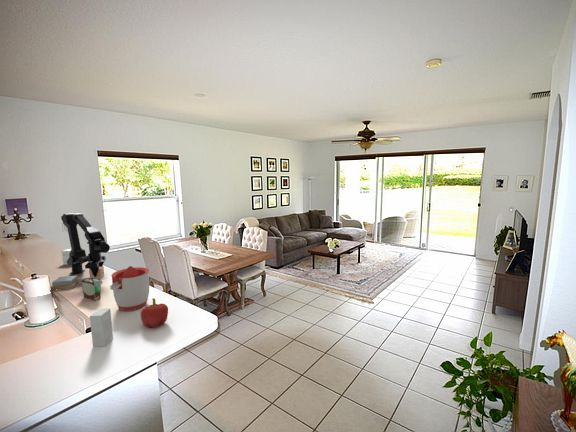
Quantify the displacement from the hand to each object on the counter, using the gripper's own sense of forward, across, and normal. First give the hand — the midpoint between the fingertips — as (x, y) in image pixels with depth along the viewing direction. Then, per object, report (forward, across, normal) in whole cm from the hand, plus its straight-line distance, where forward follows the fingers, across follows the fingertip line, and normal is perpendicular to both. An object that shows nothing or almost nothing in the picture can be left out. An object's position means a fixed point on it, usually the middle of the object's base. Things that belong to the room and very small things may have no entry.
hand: (97, 275), depth 174 cm
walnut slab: (+2, +12, -12) cm, 17 cm away
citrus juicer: (+1, +54, +29) cm, 61 cm away
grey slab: (0, +12, -12) cm, 17 cm away
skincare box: (+1, +84, +25) cm, 88 cm away
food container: (+1, +36, +9) cm, 37 cm away
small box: (+2, -39, -27) cm, 47 cm away
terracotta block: (+1, 0, 0) cm, 1 cm away
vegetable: (+1, +76, +42) cm, 87 cm away
